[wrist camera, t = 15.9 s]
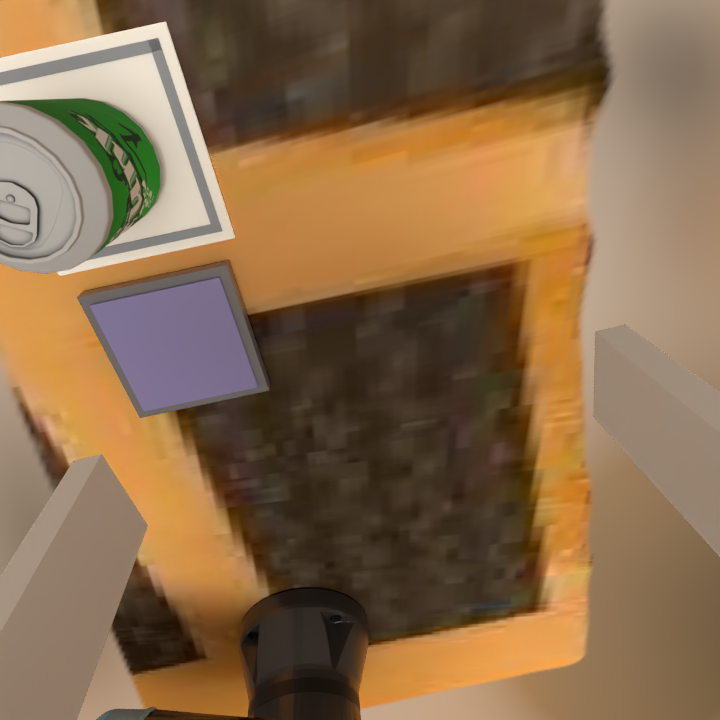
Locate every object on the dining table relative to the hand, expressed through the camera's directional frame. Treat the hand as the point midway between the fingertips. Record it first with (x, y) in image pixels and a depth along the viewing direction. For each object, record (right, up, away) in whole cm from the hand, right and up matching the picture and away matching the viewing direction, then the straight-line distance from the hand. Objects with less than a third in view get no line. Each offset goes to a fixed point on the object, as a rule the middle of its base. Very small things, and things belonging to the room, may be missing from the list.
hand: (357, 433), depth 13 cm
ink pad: (-14, +4, +25) cm, 29 cm away
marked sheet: (-16, +15, +19) cm, 29 cm away
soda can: (-16, +15, +19) cm, 29 cm away
